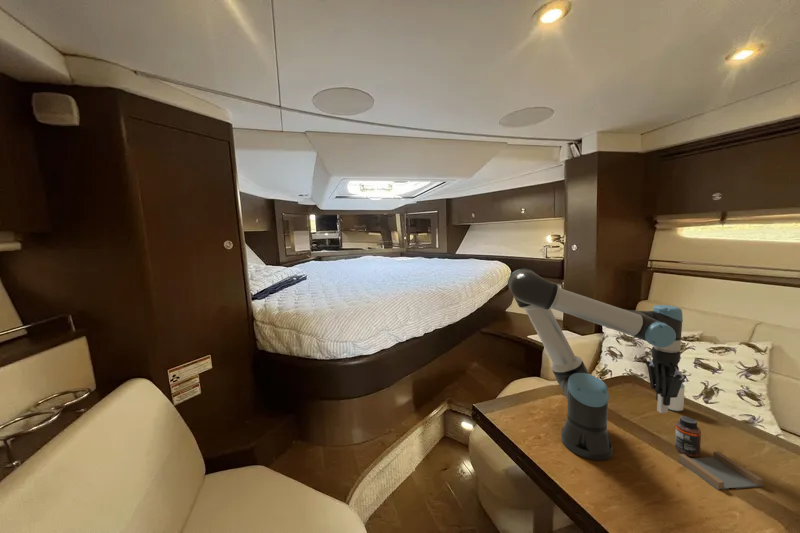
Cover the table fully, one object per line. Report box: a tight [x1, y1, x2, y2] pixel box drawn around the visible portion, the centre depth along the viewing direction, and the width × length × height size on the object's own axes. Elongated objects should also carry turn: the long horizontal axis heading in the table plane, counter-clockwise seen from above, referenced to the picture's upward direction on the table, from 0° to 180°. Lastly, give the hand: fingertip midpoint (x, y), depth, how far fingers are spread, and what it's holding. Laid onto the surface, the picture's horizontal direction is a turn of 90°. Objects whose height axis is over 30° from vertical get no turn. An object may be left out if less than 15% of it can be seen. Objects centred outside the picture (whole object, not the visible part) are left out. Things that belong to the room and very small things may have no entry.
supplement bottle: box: [674, 415, 702, 458], centre depth 96 cm, size 6×6×11 cm
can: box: [668, 381, 686, 412], centre depth 121 cm, size 7×7×12 cm
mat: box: [677, 451, 764, 491], centre depth 87 cm, size 14×11×2 cm
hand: (662, 411), depth 104 cm, fingers closed
